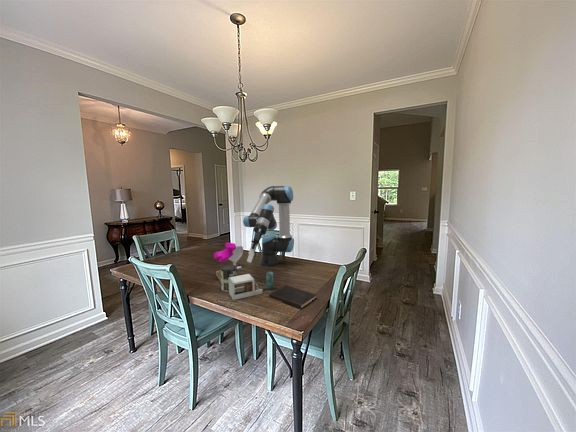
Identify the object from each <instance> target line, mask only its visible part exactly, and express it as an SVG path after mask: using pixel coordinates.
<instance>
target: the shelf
mask: <svg viewBox="0 0 576 432" xmlns="http://www.w3.org/2000/svg"><path fill="white" fill-rule="evenodd" d="M228 281H229V292H228V294H229V295H230V297H231V299H232V300H233V301H235V300H239V299H243V298H244V299H245V298H248V297H252V296H257V295H261V294H262V295H263V294H264V293H263V291H264V290H263V289H259V290H255V285H254V282H255V278H254V277H253V276H252V275H251V274H250V273H247V274H241V275H238V276H234V277H229V278H228ZM251 281H252V290H253V291H250V292H244V285H243V286H237V287H238V288H234V285H235V284H237V285H239V284H244V283H245V282H251ZM257 288H259V287H258V286H257ZM236 293H237V294H236Z"/></svg>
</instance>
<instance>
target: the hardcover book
mask: <svg viewBox="0 0 576 432" xmlns="http://www.w3.org/2000/svg"><path fill="white" fill-rule="evenodd" d="M268 297H269V298H272V299H275V300H277V301H279V302H282V303H284V304H286V303H287V305H290V306H292V307H294V306H295V307H294V308H297V309H300V310H302V309H303V307H304V308H305V307H306V305H307V306H308V305H309V304H311V303H312V302H313V301H312V300H314V299H315V298H317V294H316V293H312V292H309V291H306V290H303V289H300V288H295V287H294V286H290V285H283V286H282V287H280V288H277V289H276V290H273V291H272V292H270V293H269V295H268ZM315 300H316V299H315ZM315 300H314V301H315ZM310 302H311V303H310Z"/></svg>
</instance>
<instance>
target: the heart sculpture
mask: <svg viewBox="0 0 576 432" xmlns="http://www.w3.org/2000/svg"><path fill="white" fill-rule="evenodd" d="M235 245H236V249H235V250H234V251H232V252H233V255H232V256H231V257H230V258H229V259H227V261H228V260H229V261H231V262H232V265H236V266H237V270H238V269H241V268H242V266H241V265H240V266H238V265H237V262H239V260H241V258H242V256H243V253H244V247H243V246H242V245H237V244H235Z"/></svg>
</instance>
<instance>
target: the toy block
mask: <svg viewBox="0 0 576 432" xmlns="http://www.w3.org/2000/svg"><path fill="white" fill-rule="evenodd" d="M236 245H237V244H236V243H234V242H226V243H224V246H225V248H224V249H223V250H220V251H215V252H214V253H213V258H214V259H216V260H217V259H218V263H225V262H226V261H228V259H229V258H230V257H231V256H232V255H233V252H232V251H234V250H235V249H236Z"/></svg>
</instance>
